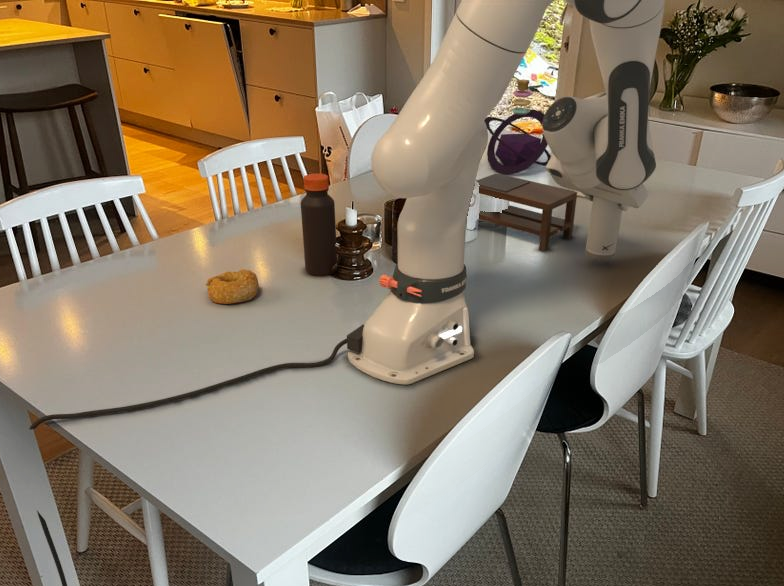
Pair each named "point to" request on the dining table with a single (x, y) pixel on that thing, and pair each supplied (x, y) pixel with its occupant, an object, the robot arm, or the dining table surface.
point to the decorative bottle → (516, 139)
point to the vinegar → (318, 226)
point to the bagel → (233, 287)
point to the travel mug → (603, 229)
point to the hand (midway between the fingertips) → (609, 202)
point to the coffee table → (533, 197)
